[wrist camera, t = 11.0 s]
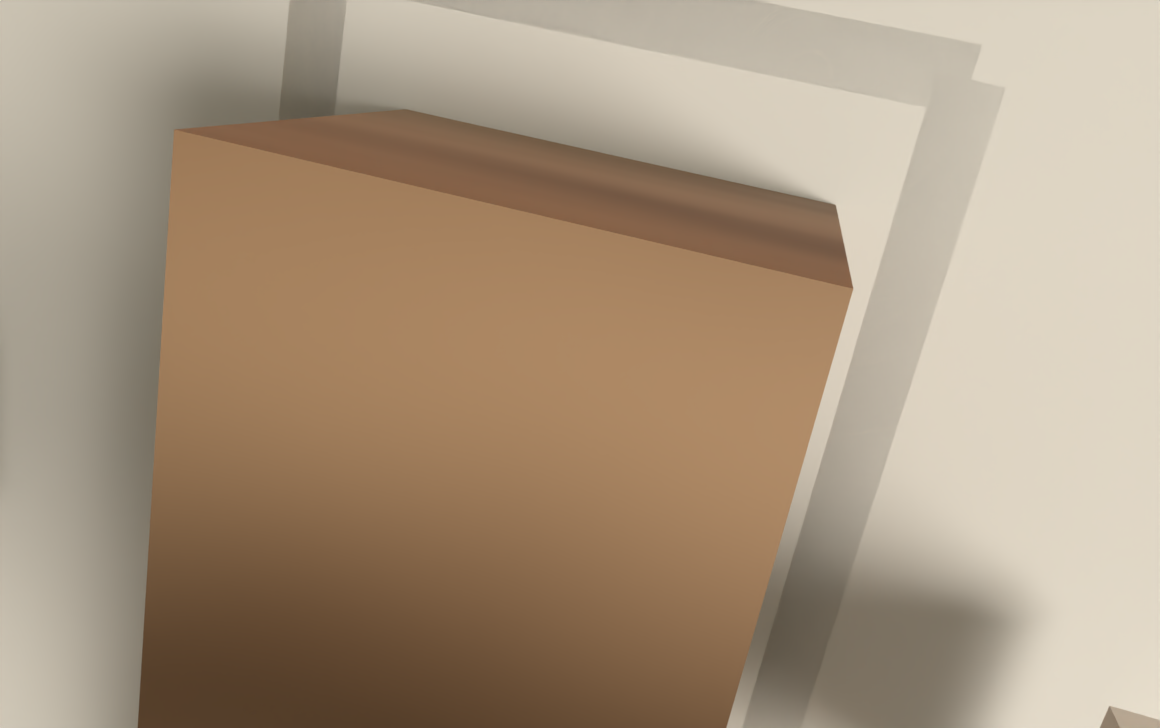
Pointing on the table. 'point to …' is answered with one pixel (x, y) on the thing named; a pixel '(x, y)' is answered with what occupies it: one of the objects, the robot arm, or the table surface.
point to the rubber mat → (706, 147)
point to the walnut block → (471, 428)
